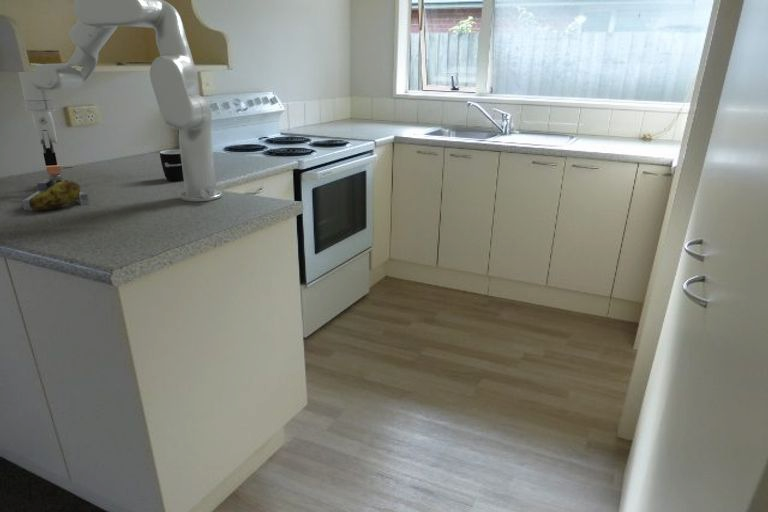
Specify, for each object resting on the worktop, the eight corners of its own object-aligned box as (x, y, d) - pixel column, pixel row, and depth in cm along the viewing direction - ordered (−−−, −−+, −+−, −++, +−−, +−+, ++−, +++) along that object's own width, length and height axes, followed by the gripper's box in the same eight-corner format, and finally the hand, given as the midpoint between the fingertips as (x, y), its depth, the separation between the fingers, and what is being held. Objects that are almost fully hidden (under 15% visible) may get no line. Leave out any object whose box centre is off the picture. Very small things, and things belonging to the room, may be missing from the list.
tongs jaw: (56, 191, 171) (53, 176, 169) (64, 190, 172) (61, 175, 171) (81, 205, 156) (78, 188, 155) (89, 203, 158) (86, 187, 156)
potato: (36, 206, 154) (30, 179, 152) (85, 203, 158) (80, 177, 156) (29, 214, 147) (22, 186, 144) (80, 210, 151) (75, 183, 148)
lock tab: (61, 173, 174) (60, 166, 173) (47, 174, 172) (46, 167, 171) (61, 171, 176) (59, 164, 176) (47, 172, 174) (45, 165, 174)
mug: (161, 182, 185) (157, 154, 181) (166, 177, 193) (162, 149, 189) (196, 181, 187) (193, 153, 183) (199, 176, 195) (196, 149, 192)
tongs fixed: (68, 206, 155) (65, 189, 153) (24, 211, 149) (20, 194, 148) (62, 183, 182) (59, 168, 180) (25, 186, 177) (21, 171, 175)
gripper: (55, 108, 157) (66, 168, 164) (53, 103, 169) (63, 160, 175) (25, 108, 153) (38, 170, 160) (25, 104, 165) (37, 161, 172)
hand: (51, 165), depth 168 cm, fingers closed
